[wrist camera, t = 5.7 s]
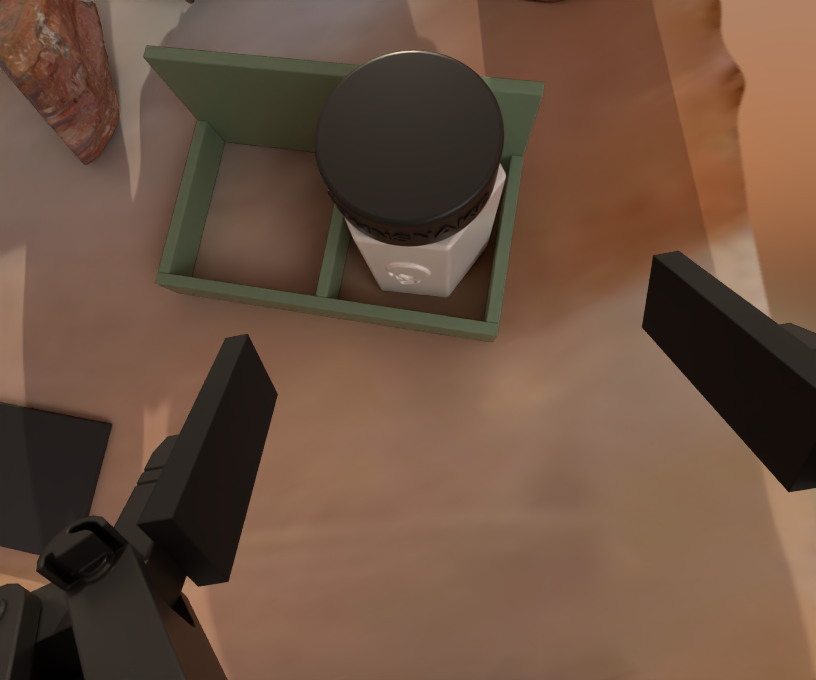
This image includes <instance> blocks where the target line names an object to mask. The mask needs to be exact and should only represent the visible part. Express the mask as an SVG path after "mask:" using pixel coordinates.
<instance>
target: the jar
mask: <svg viewBox="0 0 816 680" xmlns="http://www.w3.org/2000/svg"><path fill="white" fill-rule="evenodd" d="M503 146H504V124H503V118H502V114H501V110H500V107H499V104H498V102H497V100H496V98H495V96H494V94H493V92H492V91H491V89H490V88H489V86H488V85H487V84H486V83H485V81H484V80H483V79H482V78H481V77H480V76H479V75H478V74H477V73H476V72H474V71H473V70H472V69H471V68H469V67H468V66H466V65H465V64H463V63H462V62H460V61H458V60H456V59H454V58H451V57H449V56H446V55H443V54H439V53H435V52H430V51H421V50H408V51H399V52H393V53H389V54H385V55H382V56H379V57H376V58H374V59H372V60H370V61H367V62H366V63H364V64H362V65H360V66H359V67H357V68H356V69H354V70H353V71H352V72H350V73H349V74H348V75H347V76H345V77H344V78H343V79H342V80H341V81H340V82H339V83H338V85H337V86H336V87H335V88H334V89H333V91H332V92H331V94H330V95H329V96H328V98H327V100H326V102H325V103H324V105H323V108H322V110H321V112H320V115H319V118H318V121H317V125H316V130H315V142H314V147H315V156H316V161H317V166H318V169H319V172H320V174H321V177H322V179H323V181H324V183H325V185H326V187H327V188H328V190H329V191H328V194H329V196H330V198H331V199H332V201H333V203H334V204H335V203H336V204H335V205H336V207H337V208H338V210H339V211H340V212H341V214H342V215H343V216H344V218H345V220H346V223H347V225H348V228H349V230H350V233H351V235H352V237H353V240H354V241H355V243H356V245H357V247H358V249H359V250H360V252H361V254H362V256H363V258H364V260H365V261H366V263H367V265H368V267H369V269H370V270H371V272H372V274H373V276H374V278H375V280H376V281H377V283H378V285H379V287H380V289H381V290H383V291H391V292H400V293H409V294H419V295H428V296H437V297H448V296H450V294H451V293H452V292H453V290H454V289H455V288H456V286H457V285H458V284H459V282H460V281H461V280H462V279H463V277H464V276H465V275H466V273H467V272H468V271H469V269H470V268H471V267H472V266H473V264H474V263H475V262H476V260H477V259H478V258H479V256H480V255H481V254H482V253H483V251H484V250H485V249H486V247H487V245H488V242H489V238H490V234H491V231H492V227H493V223H494V219H495V216H496V212H497V208H498V204H499V201H500V197H501V193H502V190H503V186H504V182H505V179H506V174H505V171H504V169H503V167H502V165H501V163H500V161H501V156H502V152H503Z"/></svg>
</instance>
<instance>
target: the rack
mask: <svg viewBox="0 0 816 680" xmlns="http://www.w3.org/2000/svg"><path fill="white" fill-rule="evenodd" d="M143 57H144V59H145V60H146V61H147V62H148V63H149V64H150V66H151V67H152V68H153V69H154V70H155V71H156V72H157V74H158V75H159V76H160V77H161V78H162V79H163V81H164V82H165V83H166V84H167V85H168V86H169V87H170V89H171V90H172V91H173V92H174V93H175V94H176V96H177V97H178V98H179V99H180V100H181V101H182V102H183V104H184V105H185V106H186V107H187V108H188V109H189V111H190V112H191V113H192V114H193V115H194V116H195V117H196V119H197V122H196V126H195V130H194V134H193V137H192V141H191V145H190V149H189V153H188V157H187V161H186V165H185V169H184V172H183V176H182V180H181V184H180V188H179V192H178V196H177V200H176V204H175V208H174V211H173V215H172V219H171V223H170V227H169V231H168V235H167V239H166V243H165V246H164V250H163V254H162V258H161V262H160V266H159V270H158V274H157V277H156V281H155V283H156V284H158V285H160V286H162V287H165V288H167V289H170V290H172V291H174V292H177V293H181V294H188V295H194V296H200V297H207V298H213V299H219V300H226V301H232V302H239V303H245V304H251V305H258V306H264V307H270V308H277V309H283V310H290V311H296V312H302V313H309V314H315V315H321V316H328V317H334V318H341V319H347V320H353V321H360V322H366V323H372V324H379V325H385V326H392V327H398V328H404V329H411V330H417V331H424V332H430V333H436V334H443V335H449V336H455V337H462V338H468V339H475V340H481V341H487V342H493V341H494V340H495V338H496V337H497V336H498V329H499V322H500V315H501V308H502V302H503V295H504V288H505V281H506V274H507V267H508V261H509V254H510V247H511V240H512V233H513V227H514V220H515V213H516V206H517V199H518V192H519V186H520V179H521V172H522V165H523V158H524V154H525V150H526V147H527V144H528V141H529V138H530V134H531V131H532V128H533V125H534V122H535V119H536V115H537V112H538V109H539V106H540V103H541V100H542V96H543V91H544V82H538V81H527V80H516V79H505V78H494V77H483V76H480V77H481V78H482V79H483V80H484V81H485V83H486V84H487V85H488V86H489V88H490V89H491V91H492V92H493V94H494V96H495V98H496V100H497V102H498V104H499V107H500V110H501V114H502V118H503V124H504V146H503V152H502V156H501V161H500V163H501V165H502V167H503V169H504V171H505V174H506V179H505V185H504V192H503V198H502V205H501V211H500V218H499V225H498V231H497V238H496V244H495V251H494V257H493V264H492V271H491V277H490V284H489V290H488V297H487V304H486V310H485V317H484V322H483V321H477V320H470V319H463V318H457V317H450V316H444V315H437V314H431V313H424V312H417V311H411V310H404V309H398V308H391V307H385V306H378V305H371V304H365V303H358V302H352V301H345V300H339V299H338V296H339V291H340V286H341V281H342V276H343V271H344V266H345V261H346V256H347V250H348V245H349V240H350V235H351V233H350V230H349V228H348V225H347V223H346V220H345V218H344V216H343V215H342V214H341V212H340V211H339V210H338V208H337V207H336V205H335V204H336V203H335V204H334V208H333V213H332V217H331V222H330V227H329V232H328V237H327V242H326V247H325V251H324V256H323V261H322V266H321V271H320V276H319V281H318V285H317V290H316V296H312V295H306V294H299V293H292V292H286V291H279V290H273V289H266V288H260V287H253V286H246V285H240V284H233V283H227V282H220V281H214V280H207V279H200V278H194V277H192V274H193V270H194V266H195V262H196V258H197V253H198V249H199V245H200V241H201V237H202V233H203V229H204V225H205V221H206V217H207V213H208V209H209V205H210V201H211V197H212V192H213V188H214V184H215V180H216V176H217V172H218V168H219V164H220V160H221V156H222V152H223V148H224V144H225V142H232V143H241V144H249V145H258V146H267V147H275V148H284V149H293V150H301V151H310V152H315V147H314V142H315V130H316V125H317V121H318V118H319V115H320V112H321V110H322V108H323V105H324V103H325V102H326V100H327V98H328V96H329V95H330V94H331V92H332V91H333V89H334V88H335V87H336V86H337V85H338V83H339V82H340V81H341V80H342V79H343V78H344V77H345V76H347V75H348V74H349V73H350V72H352V71H353V70H354V69H356V68H357V67H359V66H360V65H354V64H343V63H332V62H321V61H310V60H299V59H289V58H278V57H267V56H256V55H245V54H234V53H224V52H213V51H202V50H191V49H180V48H169V47H159V46H148V45H147V46H146V49H145V52H144V56H143Z"/></svg>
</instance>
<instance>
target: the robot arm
mask: <svg viewBox="0 0 816 680" xmlns="http://www.w3.org/2000/svg"><path fill="white" fill-rule="evenodd" d="M642 328H643V329H644V330H645V331H646V332H647V334H648V335H649V336H650V337H651V338H652V339H653V340H654V341H655V343H656V344H657V345H658V346H659V347H660V348H661V349H662V350H663V352H664V353H665V354H666V355H667V356H668V357H669V358H670V359H671V360H672V362H673V363H674V364H675V365H676V366H677V367H678V368H679V369H680V371H681V372H682V373H683V374H684V375H685V376H686V377H687V378H688V380H689V381H690V382H691V383H692V384H693V385H694V386H695V387H696V389H697V390H698V391H699V392H700V393H701V394H702V395H703V396H704V398H705V399H706V400H707V401H708V402H709V403H710V404H711V405H712V407H713V408H714V409H715V410H716V411H717V412H718V413H719V414H720V416H721V417H722V418H723V419H724V420H725V421H726V422H727V423H728V425H729V426H730V427H731V428H732V429H733V430H734V431H735V432H736V434H737V435H738V436H739V437H740V438H741V439H742V440H743V441H744V443H745V444H746V445H747V446H748V447H749V448H750V449H751V450H752V452H753V453H754V454H755V455H756V456H757V457H758V458H759V459H760V461H761V462H762V463H763V464H764V465H765V466H766V467H767V468H768V470H769V471H770V472H771V473H772V474H773V475H774V476H775V477H776V479H777V480H778V481H779V482H780V483H781V484H782V485H783V486H784V488H785V489H786V490H787V491H788V492H794V491H800V490H806V489H812V488H816V333H814V332H811V331H809V330H807V329H804V328H802V327H799V326H796V325H794V324H792V323H786V324H780V325H779V324H777V323H776V322H775V321H773V320H772V319H770V318H769V317H768V316H766V315H765V314H764V313H762V312H761V311H760V310H758V309H757V308H756V307H754V306H753V305H751V304H750V303H749V302H747V301H746V300H745V299H743V298H742V297H741V296H739V295H738V294H737V293H735V292H734V291H732V290H731V289H730V288H728V287H727V286H726V285H724V284H723V283H722V282H720V281H719V280H718V279H716V278H715V277H713V276H712V275H711V274H709V273H708V272H707V271H705V270H704V269H703V268H701V267H700V266H699V265H697V264H696V263H694V262H693V261H692V260H690V259H689V258H688V257H686V256H685V255H684V254H682V253H681V252H680V251H674V252H669V253H663V254H658V255H653V260H652V267H651V273H650V279H649V286H648V292H647V298H646V305H645V311H644V317H643V324H642ZM277 395H278V394H277V392H276V390H275V388H274V386H273V384H272V382H271V380H270V378H269V376H268V374H267V372H266V370H265V368H264V365H263V363H262V361H261V359H260V357H259V355H258V353H257V351H256V349H255V347H254V345H253V343H252V341H251V339H250V337H249V335H248V334H244V335H239V336H234V337H229V338H225V340H224V342H223V344H222V346H221V349H220V351H219V353H218V355H217V357H216V359H215V361H214V363H213V365H212V367H211V369H210V371H209V374H208V376H207V378H206V380H205V382H204V384H203V386H202V388H201V390H200V392H199V394H198V397H197V399H196V401H195V403H194V405H193V407H192V409H191V411H190V413H189V415H188V417H187V420H186V422H185V424H184V426H183V428H182V430H181V432H180V434H179V435H174V436H169V437H167V438H166V439H165V440H164V441H163V442H162V443H161V444H160V445H159V446H158V448H157V449H156V450H155V451H154V452H153V453H152V455H151V457H150V459H149V461H148V463H147V465H146V467H145V469H144V470H145V472H144V473H142V474H141V476H140V478H139V480H138V482H137V486H136V487H135V488H134V490H133V492H132V494H131V496H130V497H129V499H128V501H127V503H126V505H125V507H124V509H123V511H122V513H121V515H120V517H119V519H118V521H117V522H116V524H115V526H114V527H113V526H111V525H110V524H109V523H108V522H107V521H106V520H105V519H104V518H103V517H101V516H89V517H85V518H82V519H79V520H77V521H76V522H74V523H72V524H70V525H68V526H67V527H65V528H64V529H63V530H62V531H60V532H59V533H58V534H57V535H55V536H54V537H53V539H52V540H51V541H50V542H49V543H48V544H47V545H46V547H45V548H44V549H43V551H42V553H41V555H40V557H39V559H38V561H37V569H36V571H37V572H38V573H39V574H41V575H42V576H44V577H45V578H46V579H48V580H49V581H51V582H52V583H50V584H48V585H45V586H43V587H41V588H39V589H37V590H34V591H32V592H30V591H28V590H27V589H25V588H24V587H22V586H21V585H19V584H6V585H3V586H1V587H0V680H228V679H227V677H226V675H225V673H224V671H223V669H222V667H221V665H220V663H219V661H218V659H217V657H216V655H215V653H214V651H213V649H212V647H211V645H210V643H209V641H208V639H207V637H206V635H205V633H204V631H203V629H202V627H201V624H200V622H199V620H198V618H197V616H196V614H195V612H194V610H193V608H192V606H191V604H190V602H189V600H188V598H187V597H186V596H185V595H184V594H183V593H182V592H181V590H182V588H183V585H184V582H185V579H186V576H188V577H189V578H190V579H191V580H192V581H193V582H194V583H195V584H196V585H197V586H198V587H199V586H205V585H212V584H218V583H224V582H229V578H230V574H231V570H232V566H233V563H234V559H235V555H236V551H237V547H238V544H239V540H240V536H241V532H242V528H243V525H244V521H245V517H246V513H247V509H248V506H249V502H250V498H251V494H252V490H253V487H254V483H255V479H256V475H257V471H258V468H259V464H260V460H261V456H262V452H263V449H264V445H265V441H266V437H267V433H268V430H269V426H270V422H271V418H272V414H273V411H274V407H275V403H276V399H277Z"/></svg>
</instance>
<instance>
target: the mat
mask: <svg viewBox="0 0 816 680" xmlns="http://www.w3.org/2000/svg"><path fill="white" fill-rule="evenodd" d="M111 427H112V424H110V423H105V422H100V421H94V420H89V419H84V418H79V417H74V416H69V415H64V414H58V413H53V412H48V411H43V410H38V409H33V408H28V407H22V406H17V405H12V404H7V403H2V402H0V546H3V547H7V548H11V549H15V550H20V551H24V552H28V553H32V554H37V555H41V553H42V551H43V549H44V548H45V547H46V545H47V544H48V543H49V542H50V541H51V540H52V539H53V537H54V536H55V535H57V534H58V533H59V532H60V531H62V530H63V529H64V528H65V527H67V526H68V525H70V524H72V523H74V522H76V521H77V520H79V519H82V518H85V517H88V516H89V512H90V508H91V504H92V500H93V496H94V492H95V489H96V485H97V481H98V477H99V473H100V469H101V465H102V462H103V458H104V454H105V450H106V446H107V442H108V438H109V434H110V431H111Z"/></svg>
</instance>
